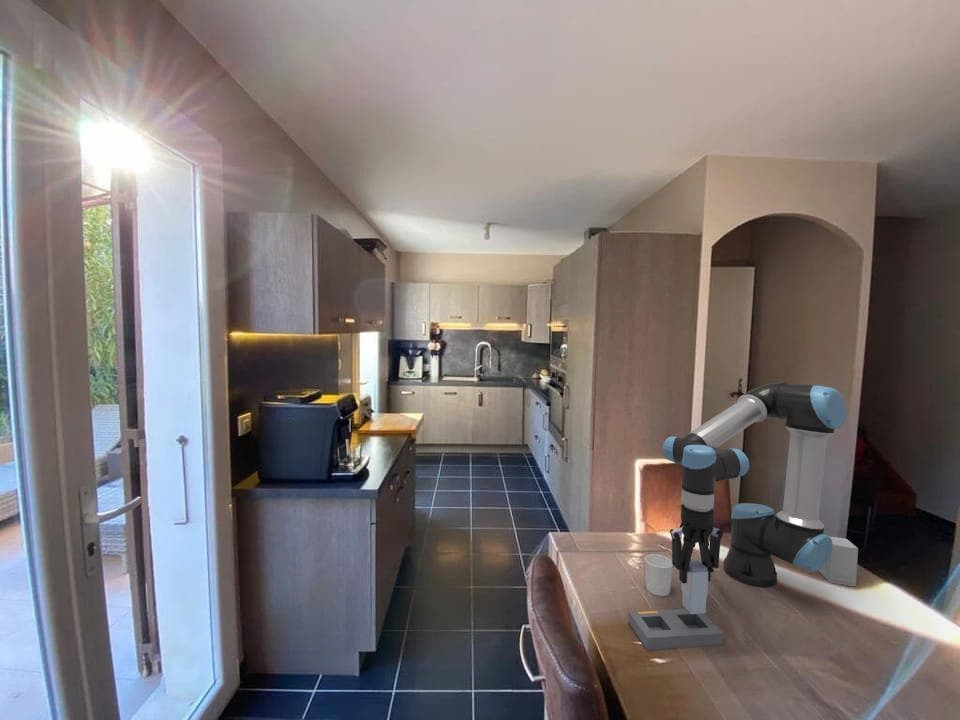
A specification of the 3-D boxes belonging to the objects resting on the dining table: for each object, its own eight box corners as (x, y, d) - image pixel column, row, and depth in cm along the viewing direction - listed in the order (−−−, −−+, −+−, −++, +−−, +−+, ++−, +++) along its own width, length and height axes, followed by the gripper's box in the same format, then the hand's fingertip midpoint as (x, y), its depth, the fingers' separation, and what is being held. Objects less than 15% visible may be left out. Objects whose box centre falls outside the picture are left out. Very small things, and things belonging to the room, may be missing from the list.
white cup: (674, 601, 126) (675, 569, 125) (646, 598, 127) (647, 566, 127) (668, 586, 134) (669, 555, 133) (641, 583, 135) (643, 552, 135)
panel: (697, 621, 117) (698, 607, 117) (722, 648, 107) (723, 632, 107) (628, 626, 115) (628, 611, 115) (646, 653, 105) (647, 637, 105)
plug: (696, 603, 113) (697, 559, 113) (705, 613, 109) (707, 568, 109) (682, 604, 113) (683, 560, 112) (691, 614, 109) (692, 568, 108)
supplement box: (856, 587, 134) (859, 548, 134) (828, 583, 137) (830, 544, 136) (845, 575, 141) (847, 538, 141) (818, 571, 144) (820, 534, 143)
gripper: (718, 499, 114) (715, 583, 116) (658, 501, 112) (655, 587, 114) (738, 510, 107) (734, 600, 108) (674, 513, 105) (671, 604, 106)
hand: (694, 593), depth 111 cm, fingers closed on plug, 4 cm apart
